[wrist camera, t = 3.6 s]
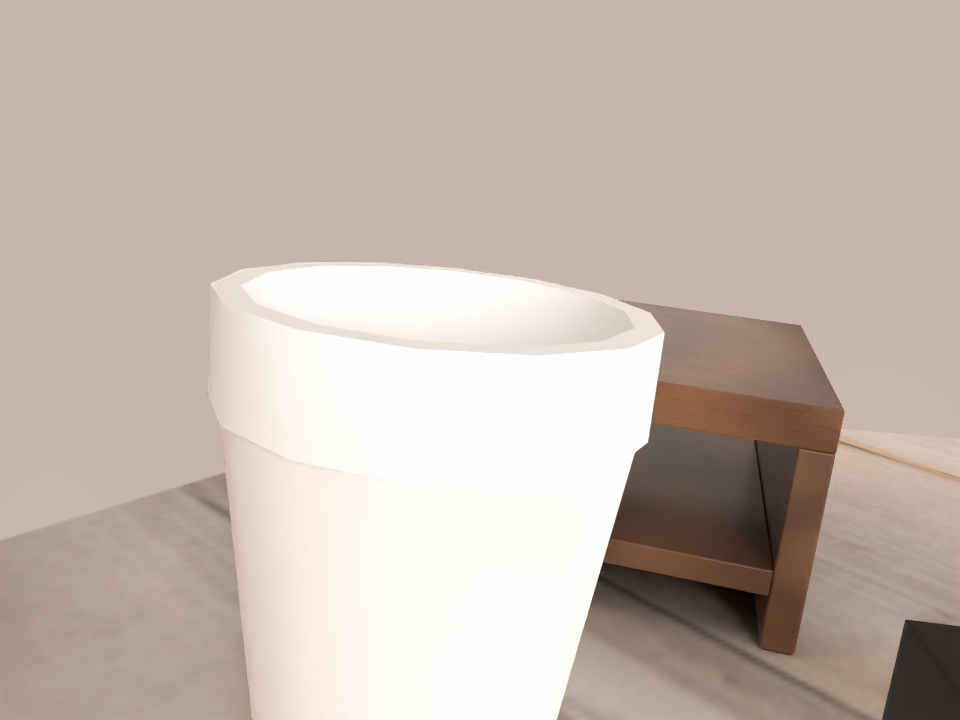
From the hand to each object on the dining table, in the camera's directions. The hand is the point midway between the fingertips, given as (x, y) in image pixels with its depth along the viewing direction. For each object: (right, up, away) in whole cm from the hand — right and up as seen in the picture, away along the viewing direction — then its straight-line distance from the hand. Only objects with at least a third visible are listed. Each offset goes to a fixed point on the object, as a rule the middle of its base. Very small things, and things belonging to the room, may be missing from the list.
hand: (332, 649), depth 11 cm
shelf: (+8, -4, +30) cm, 31 cm away
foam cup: (0, -8, +12) cm, 14 cm away
